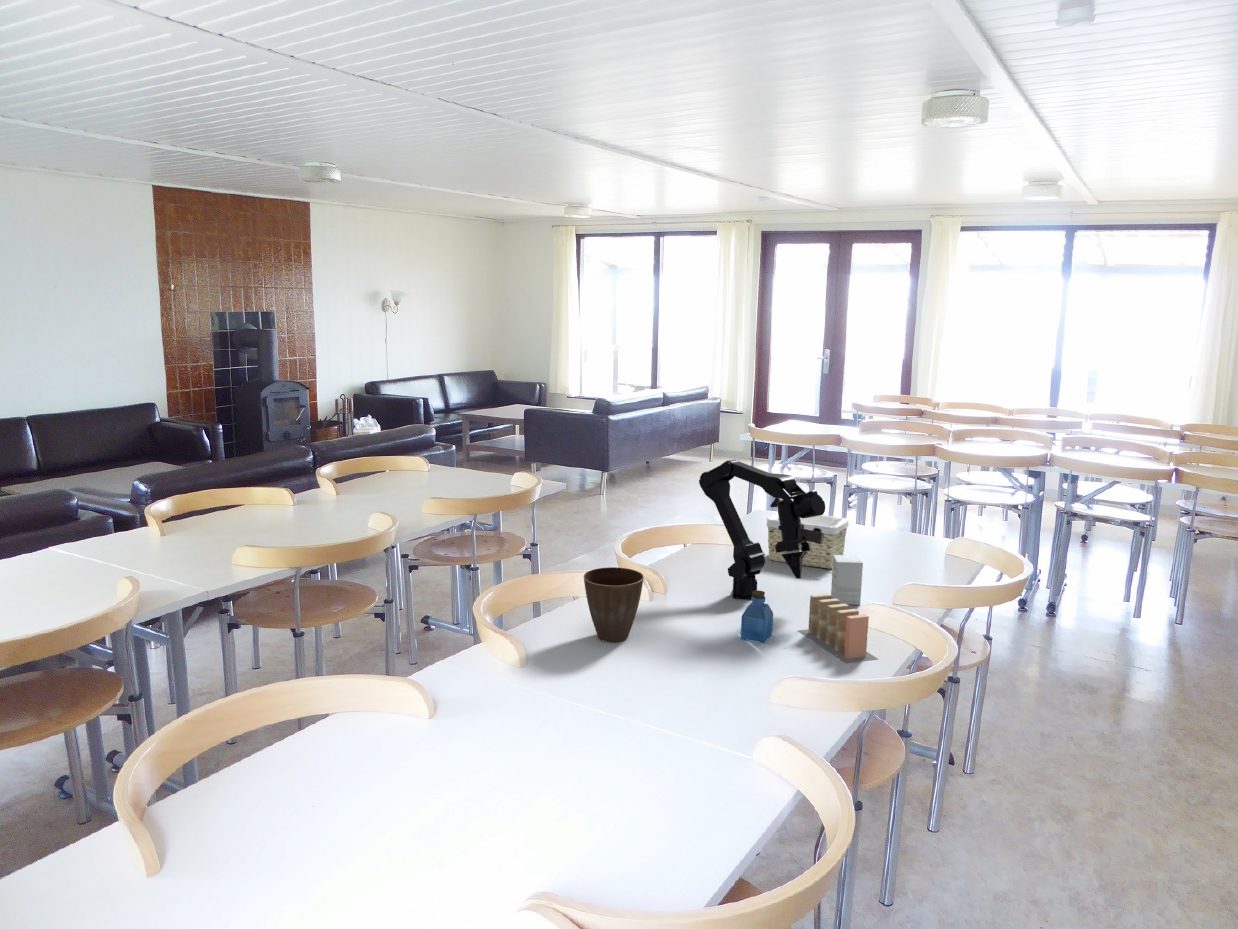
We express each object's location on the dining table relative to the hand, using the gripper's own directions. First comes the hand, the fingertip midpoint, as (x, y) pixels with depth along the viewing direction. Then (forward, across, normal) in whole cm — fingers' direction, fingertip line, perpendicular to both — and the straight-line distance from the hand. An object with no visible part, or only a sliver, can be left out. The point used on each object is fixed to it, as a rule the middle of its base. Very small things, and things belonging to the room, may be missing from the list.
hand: (798, 578), depth 228 cm
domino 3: (+17, -14, -10) cm, 24 cm away
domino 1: (+14, -8, -4) cm, 17 cm away
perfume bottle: (+14, -17, +9) cm, 24 cm away
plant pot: (+9, -33, +42) cm, 54 cm away
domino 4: (+18, -16, -12) cm, 27 cm away
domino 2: (+16, -11, -7) cm, 20 cm away
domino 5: (+20, -19, -14) cm, 31 cm away
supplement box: (+8, +21, -8) cm, 24 cm away
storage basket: (-6, +57, +9) cm, 58 cm away
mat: (+17, -13, -10) cm, 24 cm away
